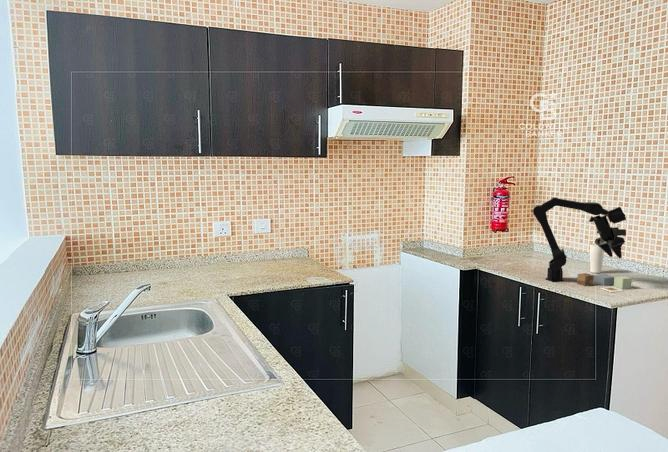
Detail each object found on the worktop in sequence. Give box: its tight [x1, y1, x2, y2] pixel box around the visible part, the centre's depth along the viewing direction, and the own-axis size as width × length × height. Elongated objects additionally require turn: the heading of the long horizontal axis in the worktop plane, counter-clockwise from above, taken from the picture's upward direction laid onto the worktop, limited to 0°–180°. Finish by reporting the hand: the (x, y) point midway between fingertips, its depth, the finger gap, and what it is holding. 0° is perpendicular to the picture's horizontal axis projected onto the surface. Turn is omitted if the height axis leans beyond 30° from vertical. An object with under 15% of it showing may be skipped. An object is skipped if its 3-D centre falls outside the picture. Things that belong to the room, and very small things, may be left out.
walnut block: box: [576, 272, 595, 287], centre depth 242 cm, size 5×5×5 cm
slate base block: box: [593, 273, 615, 287], centre depth 244 cm, size 7×7×4 cm
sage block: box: [613, 275, 633, 290], centre depth 235 cm, size 5×5×5 cm
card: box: [599, 286, 625, 293], centre depth 232 cm, size 7×7×1 cm
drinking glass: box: [589, 243, 605, 274], centre depth 267 cm, size 7×7×15 cm
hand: (616, 257), depth 241 cm, fingers open, 9 cm apart
